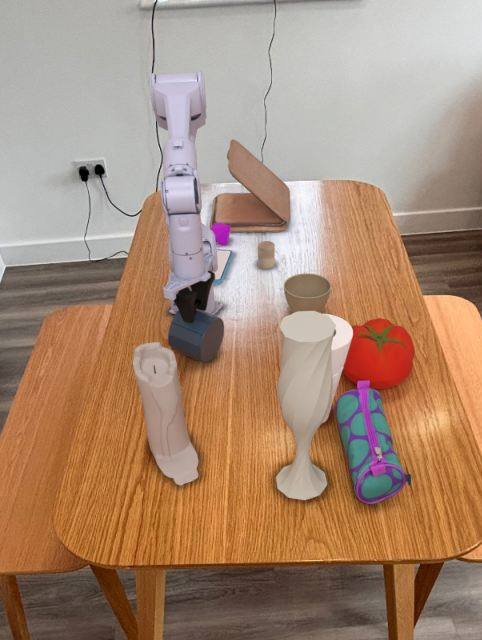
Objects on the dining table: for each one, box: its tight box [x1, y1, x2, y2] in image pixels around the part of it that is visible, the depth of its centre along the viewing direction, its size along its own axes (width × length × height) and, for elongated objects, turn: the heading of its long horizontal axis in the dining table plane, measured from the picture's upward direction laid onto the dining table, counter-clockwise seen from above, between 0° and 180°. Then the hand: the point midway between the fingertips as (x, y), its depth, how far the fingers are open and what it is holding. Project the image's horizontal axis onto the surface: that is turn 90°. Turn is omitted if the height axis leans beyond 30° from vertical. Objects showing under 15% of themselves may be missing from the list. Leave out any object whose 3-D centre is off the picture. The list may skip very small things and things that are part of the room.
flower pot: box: [283, 272, 332, 314], centre depth 137 cm, size 10×10×7 cm
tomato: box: [342, 317, 416, 390], centre depth 122 cm, size 14×16×10 cm
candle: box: [132, 341, 200, 486], centre depth 104 cm, size 7×14×20 cm, turn 24°
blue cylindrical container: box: [167, 299, 225, 363], centre depth 127 cm, size 11×9×8 cm
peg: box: [257, 240, 276, 270], centre depth 152 cm, size 4×4×5 cm
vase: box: [275, 311, 336, 501], centre depth 96 cm, size 9×8×30 cm
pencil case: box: [334, 381, 412, 505], centre depth 106 cm, size 21×9×10 cm, turn 5°
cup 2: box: [321, 313, 353, 424], centre depth 111 cm, size 11×11×18 cm
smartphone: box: [213, 248, 234, 285], centre depth 153 cm, size 8×1×15 cm
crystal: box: [211, 222, 231, 247], centre depth 160 cm, size 5×5×5 cm
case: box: [209, 139, 291, 233], centre depth 165 cm, size 20×21×16 cm
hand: (194, 315), depth 124 cm, fingers closed on blue cylindrical container, 4 cm apart
